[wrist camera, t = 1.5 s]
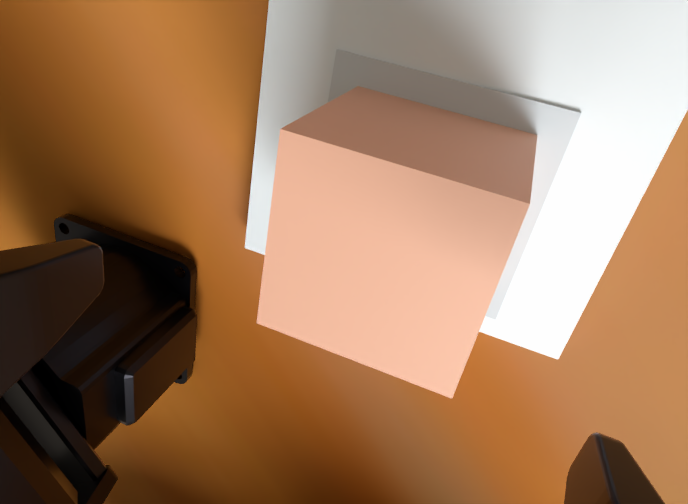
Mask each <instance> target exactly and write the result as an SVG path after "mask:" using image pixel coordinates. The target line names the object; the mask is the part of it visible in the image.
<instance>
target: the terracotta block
mask: <svg viewBox="0 0 688 504" xmlns="http://www.w3.org/2000/svg"><path fill="white" fill-rule="evenodd" d="M536 144H537V135H536V134H532V133H528V132H525V131H521V130H517V129H514V128H510V127H506V126H503V125H499V124H495V123H492V122H488V121H484V120H481V119H477V118H473V117H470V116H466V115H462V114H459V113H455V112H451V111H448V110H444V109H440V108H437V107H433V106H429V105H426V104H422V103H418V102H415V101H411V100H407V99H404V98H400V97H396V96H393V95H389V94H385V93H382V92H378V91H375V90H371V89H367V88H364V87H360V86H357V87H355V88H353V89H352V90H350V91H348V92H346V93H344V94H343V95H341V96H339V97H337V98H335V99H334V100H332V101H330V102H328V103H326V104H324V105H323V106H321V107H319V108H317V109H315V110H314V111H312V112H310V113H308V114H306V115H305V116H303V117H301V118H299V119H297V120H295V121H294V122H292V123H290V124H288V125H286V126H285V127H283V128H281V129H280V135H279V143H278V151H277V159H276V168H275V176H274V184H273V192H272V200H271V209H270V217H269V225H268V233H267V241H266V250H265V258H264V266H263V274H262V282H261V291H260V299H259V307H258V315H257V323H258V324H260V325H263V326H266V327H268V328H271V329H273V330H276V331H278V332H281V333H284V334H286V335H289V336H291V337H294V338H297V339H299V340H302V341H304V342H307V343H309V344H312V345H315V346H317V347H320V348H322V349H325V350H328V351H330V352H333V353H335V354H338V355H340V356H343V357H346V358H348V359H351V360H353V361H356V362H359V363H361V364H364V365H366V366H369V367H371V368H374V369H377V370H379V371H382V372H384V373H387V374H390V375H392V376H395V377H397V378H400V379H402V380H405V381H408V382H410V383H413V384H415V385H418V386H421V387H423V388H426V389H428V390H431V391H433V392H436V393H439V394H441V395H444V396H446V397H449V398H452V397H453V395H454V392H455V390H456V387H457V385H458V382H459V380H460V377H461V375H462V372H463V370H464V367H465V365H466V363H467V360H468V358H469V355H470V353H471V350H472V348H473V345H474V343H475V340H476V338H477V335H478V333H479V330H480V328H481V325H482V323H483V320H484V318H485V315H486V313H487V310H488V308H489V305H490V303H491V300H492V298H493V295H494V293H495V290H496V288H497V285H498V283H499V280H500V278H501V275H502V273H503V270H504V268H505V265H506V263H507V260H508V258H509V255H510V253H511V250H512V248H513V245H514V243H515V240H516V238H517V235H518V233H519V230H520V228H521V225H522V223H523V220H524V218H525V215H526V213H527V210H528V208H529V205H530V200H531V191H532V182H533V172H534V163H535V154H536Z"/></svg>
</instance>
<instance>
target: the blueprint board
mask: <svg viewBox="0 0 688 504" xmlns="http://www.w3.org/2000/svg"><path fill="white" fill-rule="evenodd" d="M357 86H360V87H364V88H367V89H371V90H375V91H378V92H382V93H385V94H389V95H393V96H396V97H400V98H404V99H407V100H411V101H415V102H418V103H422V104H426V105H429V106H433V107H437V108H440V109H444V110H448V111H451V112H455V113H459V114H462V115H466V116H470V117H473V118H477V119H481V120H484V121H488V122H492V123H495V124H499V125H503V126H506V127H510V128H514V129H517V130H521V131H525V132H528V133H532V134H536V135H537V144H536V154H535V163H534V172H533V182H532V191H531V200H530V205H529V208H528V210H527V213H526V215H525V218H524V220H523V223H522V225H521V228H520V230H519V233H518V235H517V238H516V240H515V243H514V245H513V248H512V250H511V253H510V255H509V258H508V260H507V263H506V265H505V268H504V270H503V273H502V275H501V278H500V280H499V283H498V285H497V288H496V290H495V293H494V295H493V298H492V300H491V303H490V305H489V308H488V310H487V313H486V315H485V318H484V320H483V323H482V325H481V328H480V330H479V332H482V333H485V334H488V335H490V336H493V337H496V338H499V339H502V340H504V341H507V342H510V343H513V344H516V345H518V346H521V347H524V348H527V349H530V350H532V351H535V352H538V353H541V354H544V355H546V356H549V357H552V358H555V359H559V357H560V355H561V353H562V351H563V349H564V347H565V345H566V343H567V341H568V339H569V337H570V336H571V334H572V332H573V330H574V328H575V326H576V324H577V322H578V320H579V318H580V316H581V314H582V312H583V310H584V308H585V307H586V305H587V303H588V301H589V299H590V297H591V295H592V293H593V291H594V289H595V287H596V285H597V283H598V281H599V280H600V278H601V276H602V274H603V272H604V270H605V268H606V266H607V264H608V262H609V260H610V258H611V256H612V254H613V253H614V251H615V249H616V247H617V245H618V243H619V241H620V239H621V237H622V235H623V233H624V231H625V229H626V227H627V225H628V224H629V222H630V220H631V218H632V216H633V214H634V212H635V210H636V208H637V206H638V204H639V202H640V200H641V198H642V197H643V195H644V193H645V191H646V189H647V187H648V185H649V183H650V181H651V179H652V177H653V175H654V173H655V171H656V170H657V168H658V166H659V164H660V162H661V160H662V158H663V156H664V154H665V152H666V150H667V148H668V146H669V144H670V143H671V141H672V139H673V137H674V135H675V133H676V131H677V129H678V127H679V125H680V123H681V121H682V119H683V117H684V115H685V114H686V112H687V110H688V0H269V6H268V17H267V27H266V37H265V47H264V57H263V67H262V78H261V88H260V98H259V108H258V118H257V129H256V139H255V149H254V159H253V169H252V179H251V190H250V200H249V210H248V220H247V230H246V241H245V248H246V249H249V250H252V251H255V252H258V253H260V254H263V255H265V250H266V241H267V233H268V225H269V217H270V209H271V200H272V192H273V184H274V176H275V168H276V159H277V151H278V143H279V135H280V129H281V128H283V127H285V126H286V125H288V124H290V123H292V122H294V121H295V120H297V119H299V118H301V117H303V116H305V115H306V114H308V113H310V112H312V111H314V110H315V109H317V108H319V107H321V106H323V105H324V104H326V103H328V102H330V101H332V100H334V99H335V98H337V97H339V96H341V95H343V94H344V93H346V92H348V91H350V90H352V89H353V88H355V87H357Z"/></svg>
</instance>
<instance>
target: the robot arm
mask: <svg viewBox="0 0 688 504" xmlns="http://www.w3.org/2000/svg"><path fill="white" fill-rule="evenodd" d="M54 228H55V237H56V242H53V243H47V244H41V245H34V246H28V247H22V248H15V249H9V250H3V251H0V504H103V503H104V501H105V499H106V498H107V496H108V494H109V493H110V491H111V489H112V488H113V486H114V484H115V483H116V481H117V479H118V476H117V475H116V474H115V472H114V471H113V470H112V468H111V467H110V466H109V465H105V464H104V463H103V461H102V460H101V459H100V457H99V456H98V455H97V453H96V452H95V451H94V449H95V448H96V447H97V446H98V445H99V444H100V443H101V442H102V441H103V440H104V439H105V438H106V437H107V436H108V435H109V434H110V433H111V432H112V431H113V430H114V429H115V428H116V427H117V426H118V425H119V424H120V423H123V424H125V425H131V424H133V423H135V422H137V420H138V419H139V418H140V417H141V416H142V415H143V414H144V413H145V412H146V411H147V410H148V409H149V408H150V407H151V406H152V405H153V403H154V402H155V401H156V400H157V399H158V398H159V397H160V396H161V395H162V394H163V393H164V392H165V391H166V390H167V389H168V388H169V386H170V385H171V384H172V383H173V382H176V383H179V384H184V383H185V382H186V381H187V380H188V379H189V378H190V377H191V375H192V366H193V361H194V359H195V348H196V327H197V315H196V312H195V299H196V277H197V270H196V266H195V264H194V263H193V262H192V261H191V260H190V259H189V258H187V257H185V256H182V255H179V254H177V253H174V252H171V251H168V250H166V249H163V248H160V247H158V246H155V245H152V244H150V243H147V242H144V241H141V240H139V239H136V238H133V237H131V236H128V235H125V234H122V233H120V232H117V231H114V230H112V229H109V228H106V227H104V226H101V225H98V224H95V223H93V222H90V221H87V220H85V219H82V218H79V217H76V216H74V215H71V214H65V215H62V216H60V217H58V218H56V220H55V221H54ZM181 268H183V270H184V271H185V272H183V271H182V270H181ZM564 504H665V503H664V501H663V500H662V499H661V497H660V496H659V494H658V493H657V491H656V490H655V488H654V487H653V486H652V484H651V483H650V481H649V480H648V478H647V477H646V475H645V474H644V473H643V471H642V470H641V468H640V467H639V465H638V464H637V462H636V461H635V460H634V458H633V457H632V455H631V454H630V452H629V451H628V449H627V448H626V447H625V445H624V444H623V443H622V442H620V441H619V440H616V439H614V438H611V437H608V436H606V435H603V434H600V433H593V434H591V435H590V436H589V437H588V439H587V441H586V442H585V444H584V445H583V447H582V449H581V450H580V452H579V453H578V455H577V457H576V458H575V460H574V462H573V463H572V465H571V467H570V469H569V472H568V476H567V482H566V491H565V500H564Z"/></svg>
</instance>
